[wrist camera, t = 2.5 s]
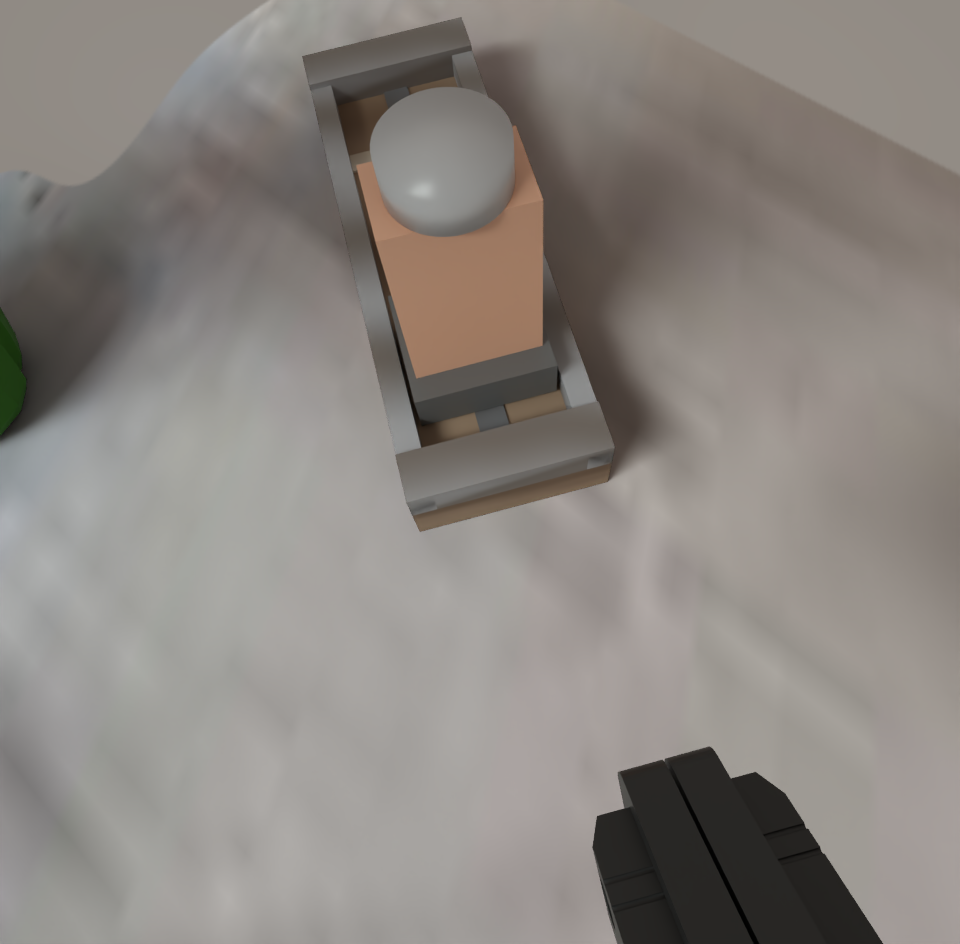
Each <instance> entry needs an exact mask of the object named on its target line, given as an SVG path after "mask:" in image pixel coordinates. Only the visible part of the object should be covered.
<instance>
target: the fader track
mask: <svg viewBox="0 0 960 944" xmlns="http://www.w3.org/2000/svg"><path fill="white" fill-rule="evenodd" d="M302 57H303V61H304V66H305V70H306V74H307V79H308V83H309V87H310V90H311V94H312V98H313V102H314V106H315V111H316V115H317V119H318V124H319V128H320V132H321V136H322V141H323V145H324V149H325V153H326V158H327V162H328V166H329V171H330V175H331V179H332V183H333V188H334V192H335V196H336V201H337V205H338V209H339V213H340V218H341V222H342V226H343V231H344V235H345V239H346V243H347V248H348V252H349V256H350V261H351V265H352V269H353V273H354V278H355V282H356V286H357V290H358V295H359V299H360V303H361V308H362V312H363V316H364V320H365V325H366V329H367V333H368V338H369V342H370V346H371V350H372V355H373V359H374V363H375V368H376V372H377V376H378V380H379V385H380V389H381V393H382V397H383V402H384V406H385V410H386V415H387V419H388V423H389V427H390V432H391V436H392V440H393V445H394V449H395V453H396V455H395V456H396V460H397V464H398V469H399V473H400V477H401V481H402V486H403V490H404V494H405V499H406V503H407V505H408V507H409V509H410V511H411V514H412V516H413V518H414V520H415V522H416V524H417V527H418V529H419V531H420V532H421V531H425V530H428V529H432V528H436V527H440V526H443V525H447V524H451V523H455V522H458V521H462V520H466V519H470V518H473V517H477V516H481V515H485V514H488V513H492V512H496V511H500V510H503V509H507V508H511V507H515V506H519V505H522V504H526V503H530V502H534V501H537V500H541V499H545V498H549V497H552V496H556V495H560V494H564V493H567V492H571V491H575V490H579V489H582V488H586V487H590V486H594V485H597V484H601V483H605V482H608V477H609V473H610V468H611V464H612V459H613V454H614V450H615V446H614V443H613V440H612V437H611V434H610V432H609V429H608V426H607V423H606V420H605V418H604V415H603V412H602V409H601V407H600V404H599V401H597V400H596V398H595V395H594V392H593V389H592V386H591V384H590V381H589V378H588V375H587V372H586V370H585V367H584V364H583V361H582V358H581V356H580V353H579V350H578V347H577V344H576V342H575V339H574V336H573V333H572V330H571V327H570V325H569V322H568V319H567V316H566V313H565V311H564V308H563V305H562V302H561V299H560V297H559V294H558V291H557V288H556V285H555V283H554V280H553V277H552V274H551V271H550V269H549V266H548V263H547V260H546V257H545V255H544V252H543V325H544V327H545V330H546V333H547V336H548V339H549V342H550V345H551V348H552V351H553V354H554V357H555V360H556V363H557V390H556V391H553V392H550V393H546V394H542V395H538V396H534V397H530V398H527V399H523V400H519V401H515V402H511V403H508V404H504V405H500V406H496V407H492V408H488V409H485V410H481V411H477V412H473V413H469V414H466V415H462V416H458V417H454V418H450V419H446V420H443V421H439V422H435V423H431V424H427V425H424V426H422V425H421V422H420V419H419V416H418V413H417V410H416V407H415V404H414V400H413V396H412V392H411V388H410V384H409V380H408V376H407V372H406V368H405V364H404V360H403V356H402V352H401V348H400V344H399V340H398V336H397V332H396V328H395V324H394V320H393V316H392V312H391V308H390V304H389V300H388V296H391V292H390V289H389V286H388V282H387V279H386V276H385V272H384V269H383V266H382V262H381V259H380V256H379V252H378V249H377V246H376V242H375V238H374V234H373V230H372V226H371V222H370V218H369V214H368V210H367V207H366V203H365V199H364V195H363V191H362V187H361V183H360V179H359V175H358V171H357V167H356V165H359V164H363V163H367V162H371V161H372V159H371V154H370V140H371V136H372V133H373V130H374V128H375V126H376V124H377V122H378V121H379V119H380V118H381V116H382V115H383V114H384V113H385V112H386V111H387V110H388V109H389V108H390V107H391V106H393V105H394V104H395V103H397V102H398V101H400V100H401V99H403V98H405V97H407V96H409V95H411V94H414V93H416V92H419V91H423V90H426V89H431V88H439V87H458V88H465V89H470V90H473V91H476V92H479V93H481V94H483V95H486V96H487V97H488V95H487V92H486V89H485V86H484V83H483V81H482V78H481V75H480V72H479V69H478V67H477V64H476V61H475V58H474V55H473V53H472V48H471V43H470V40H469V37H468V35H467V32H466V29H465V26H464V23H463V21H462V18H461V17H460V18H456V19H452V20H448V21H444V22H440V23H436V24H432V25H428V26H424V27H420V28H416V29H412V30H408V31H404V32H399V33H395V34H391V35H387V36H383V37H379V38H375V39H371V40H367V41H363V42H359V43H355V44H351V45H347V46H342V47H338V48H334V49H330V50H326V51H322V52H318V53H314V54H310V55H306V56H302Z"/></svg>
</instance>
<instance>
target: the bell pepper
mask: <svg viewBox="0 0 960 944" xmlns="http://www.w3.org/2000/svg"><path fill="white" fill-rule="evenodd" d="M21 369H22V355H21V351H20V348H19V345H18V341H17V338H16V334H15V332H14V331H13V329H12V327H11V325H10V324H9V322H8V320H7V318H6V317H5V315H4V313H3V312H2V310H1V308H0V436H1V435H2V434H3V432H4V431H5V430H6V429H7V427H8V426H9V425H10V424H11V423H12V421H13V420H14V419H15V418H16V417H17V415H18V414H19V413H20V412H21V409H22V405H23V401H24V396H25V392H26V378H25V377H24V375H23V373H22V372H21Z"/></svg>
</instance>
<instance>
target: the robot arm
mask: <svg viewBox="0 0 960 944" xmlns="http://www.w3.org/2000/svg"><path fill="white" fill-rule="evenodd" d="M618 779H619V784H620V789H621V794H622V798H623V803H624V808H625V809H621V810H618V811H614V812H610V813H607V814H603V815H600V816H597V820H596V827H595V834H594V841H593V851H594V855H595V860H596V864H597V868H598V872H599V877H600V881H601V885H602V889H603V894H604V898H605V902H606V906H607V911H608V915H609V918H610V921H611V925H612V928H613V931H614V934H615V938H616V941H617V944H883V943H882V941H881V940H880V938H879V937H878V935H877V934H876V932H875V930H874V929H873V927H872V926H871V924H870V923H869V921H868V920H867V918H866V917H865V915H864V914H863V912H862V911H861V909H860V907H859V906H858V904H857V903H856V901H855V900H854V898H853V897H852V895H851V894H850V892H849V891H848V889H847V888H846V886H845V885H844V883H843V881H842V880H841V878H840V877H839V875H838V874H837V872H836V871H835V869H834V868H833V866H832V865H831V863H830V862H829V860H828V859H827V857H826V855H825V854H823V853H822V852H821V849H820V846H819V845H818V843H817V842H816V840H815V839H814V837H813V836H812V834H811V832H810V831H809V829H806V827H805V824H804V822H803V820H802V819H801V817H800V816H799V814H798V813H797V811H796V810H795V808H794V806H793V805H792V803H791V802H790V800H789V799H788V797H787V796H786V794H785V793H784V792H782V791H781V790H780V789H778V788H777V787H775V786H774V785H773V784H771V783H770V782H769V781H767V780H766V779H765V778H763V777H762V776H760V775H759V774H758V773H756V772H754V773H750V774H746V775H743V776H739V777H735V778H732V779H731V778H730V777H729V775H728V773H727V771H726V770H725V768H724V766H723V764H722V763H721V761H720V759H719V758H718V756H717V754H716V753H715V751H714V750H713V749H712V748H711V747H706V748H702V749H699V750H695V751H691V752H688V753H684V754H681V755H677V756H673V757H670V758H666V759H665V762H664V761H663V760H660V761H656V762H653V763H649V764H645V765H642V766H638V767H634V768H631V769H627V770H624V771H620V772H618Z"/></svg>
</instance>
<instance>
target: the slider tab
mask: <svg viewBox="0 0 960 944" xmlns="http://www.w3.org/2000/svg"><path fill="white" fill-rule="evenodd" d="M370 154H371V159H372V161H371V162H367V163H363V164H359V165H356V167H357V171H358V175H359V179H360V183H361V187H362V191H363V195H364V199H365V203H366V207H367V210H368V214H369V218H370V222H371V226H372V230H373V234H374V238H375V242H376V246H377V249H378V252H379V256H380V259H381V262H382V266H383V269H384V272H385V276H386V279H387V282H388V286H389V289H390V292H391V296H388V300H389V304H390V308H391V312H392V316H393V320H394V324H395V328H396V332H397V336H398V340H399V344H400V348H401V352H402V356H403V360H404V364H405V368H406V372H407V376H408V380H409V384H410V388H411V392H412V396H413V400H414V404H415V407H416V410H417V413H418V416H419V419H420V422H421V425H422V426H424V425H427V424H431V423H435V422H439V421H443V420H446V419H450V418H454V417H458V416H462V415H466V414H469V413H473V412H477V411H481V410H485V409H488V408H492V407H496V406H500V405H504V404H508V403H511V402H515V401H519V400H523V399H527V398H530V397H534V396H538V395H542V394H546V393H550V392H553V391H556V390H557V363H556V360H555V357H554V354H553V351H552V348H551V345H550V342H549V339H548V336H547V333H546V330H545V327H544V325H543V198H542V195H541V192H540V189H539V187H538V184H537V181H536V179H535V176H534V173H533V170H532V168H531V165H530V162H529V160H528V157H527V154H526V151H525V149H524V146H523V143H522V141H521V138H520V135H519V132H518V130H517V127H516V125H514V126H512V125H511V122H510V120H509V117H508V116H507V114H506V113H505V111H504V110H503V109H502V108H501V107H500V106H499V105H498V104H497V103H496V102H495V101H494V100H492V99H490V98H489V97H487V96H486V95H483V94H481V93H479V92H476V91H473V90H470V89H465V88H458V87H439V88H431V89H426V90H423V91H419V92H416V93H414V94H411V95H409V96H407V97H405V98H403V99H401V100H400V101H398V102H397V103H395V104H394V105H393V106H391V107H390V108H389V109H388V110H387V111H386V112H385V113H384V114H383V115H382V116H381V118H380V119H379V121H378V122H377V124H376V126H375V128H374V130H373V133H372V136H371V140H370Z"/></svg>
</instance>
